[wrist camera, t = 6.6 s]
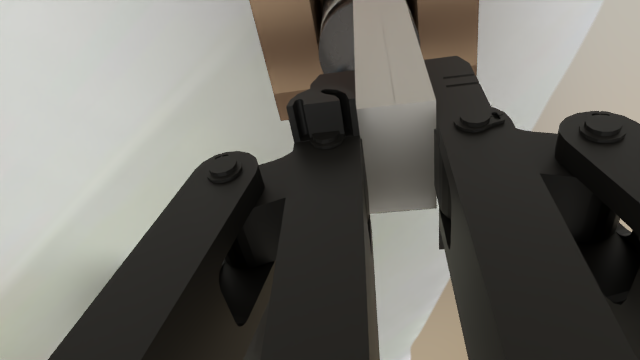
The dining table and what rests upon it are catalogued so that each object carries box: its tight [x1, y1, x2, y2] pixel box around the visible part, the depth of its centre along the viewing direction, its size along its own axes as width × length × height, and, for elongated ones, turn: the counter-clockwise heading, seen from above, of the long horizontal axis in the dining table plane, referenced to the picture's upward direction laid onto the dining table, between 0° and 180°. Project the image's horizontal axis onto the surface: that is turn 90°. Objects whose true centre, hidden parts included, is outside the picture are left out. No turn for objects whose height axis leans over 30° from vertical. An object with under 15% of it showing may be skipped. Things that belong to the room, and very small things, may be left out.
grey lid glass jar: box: [319, 0, 420, 74], centre depth 31 cm, size 6×6×10 cm
